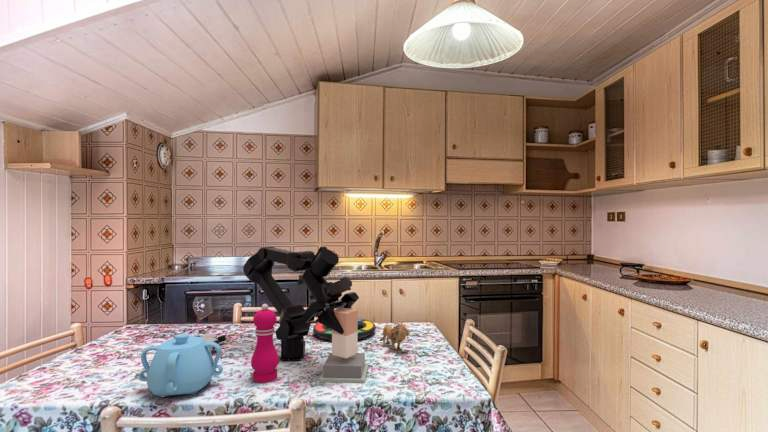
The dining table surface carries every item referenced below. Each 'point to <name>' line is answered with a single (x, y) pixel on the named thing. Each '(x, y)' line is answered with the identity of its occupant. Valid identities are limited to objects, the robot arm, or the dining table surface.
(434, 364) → the dining table surface
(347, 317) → the brick column
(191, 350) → the decorative pot
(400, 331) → the lion figurine
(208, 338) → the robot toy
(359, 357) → the base brick
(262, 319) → the pepper mill
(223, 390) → the dining table surface
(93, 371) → the dining table surface
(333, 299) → the robot arm
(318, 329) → the electronic game
